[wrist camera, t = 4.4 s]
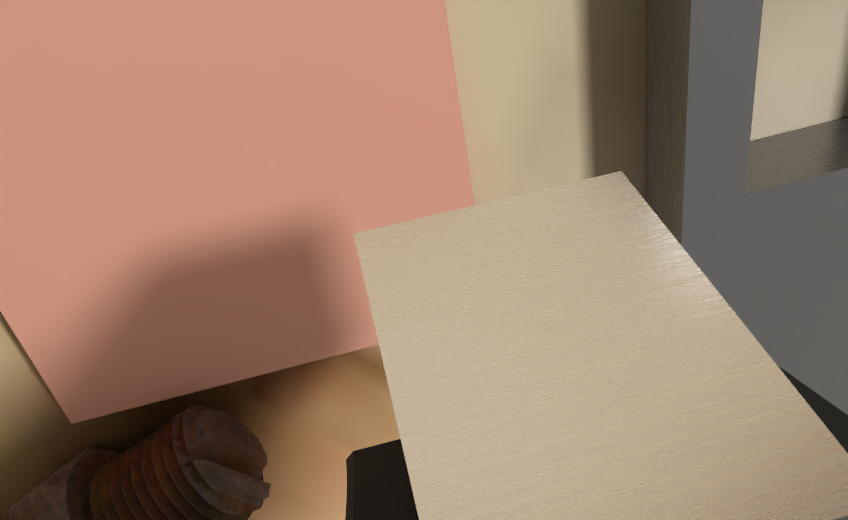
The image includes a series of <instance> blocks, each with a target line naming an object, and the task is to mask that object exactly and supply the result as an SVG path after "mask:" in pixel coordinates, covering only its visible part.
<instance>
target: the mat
mask: <svg viewBox="0 0 848 520" xmlns="http://www.w3.org/2000/svg"><path fill="white" fill-rule="evenodd" d="M473 205H474V200H473V194H472V187H471V180H470V173H469V166H468V160H467V153H466V146H465V139H464V132H463V125H462V119H461V112H460V105H459V98H458V91H457V85H456V78H455V71H454V64H453V57H452V50H451V44H450V37H449V30H448V23H447V16H446V10H445V3H444V0H0V311H1V313H2V315H3V316H4V318H5V319H6V321H7V322H8V324H9V326H10V327H11V329H12V330H13V332H14V334H15V335H16V337H17V338H18V340H19V342H20V343H21V345H22V346H23V348H24V350H25V351H26V353H27V354H28V356H29V357H30V359H31V361H32V362H33V364H34V365H35V367H36V369H37V370H38V372H39V373H40V375H41V377H42V378H43V380H44V381H45V383H46V384H47V386H48V388H49V389H50V391H51V392H52V394H53V396H54V397H55V399H56V400H57V402H58V404H59V405H60V407H61V408H62V410H63V411H64V413H65V415H66V416H67V418H68V419H69V421H70V423H71V424H74V423H77V422H81V421H85V420H89V419H93V418H97V417H101V416H104V415H108V414H112V413H116V412H120V411H124V410H128V409H131V408H135V407H139V406H143V405H147V404H151V403H155V402H159V401H162V400H166V399H170V398H174V397H178V396H182V395H186V394H189V393H193V392H197V391H201V390H205V389H209V388H213V387H216V386H220V385H224V384H228V383H232V382H236V381H240V380H243V379H247V378H251V377H255V376H259V375H263V374H267V373H270V372H274V371H278V370H282V369H286V368H290V367H294V366H297V365H301V364H305V363H309V362H313V361H317V360H321V359H324V358H328V357H332V356H336V355H340V354H344V353H348V352H352V351H355V350H359V349H363V348H367V347H371V346H375V345H379V342H378V338H377V334H376V329H375V325H374V321H373V316H372V312H371V307H370V303H369V299H368V294H367V290H366V286H365V281H364V277H363V272H362V268H361V264H360V259H359V255H358V251H357V246H356V242H355V237H354V233H358V232H362V231H366V230H371V229H375V228H379V227H384V226H388V225H392V224H396V223H401V222H405V221H409V220H413V219H418V218H422V217H426V216H431V215H435V214H439V213H443V212H448V211H452V210H456V209H461V208H465V207H469V206H473Z"/></svg>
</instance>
